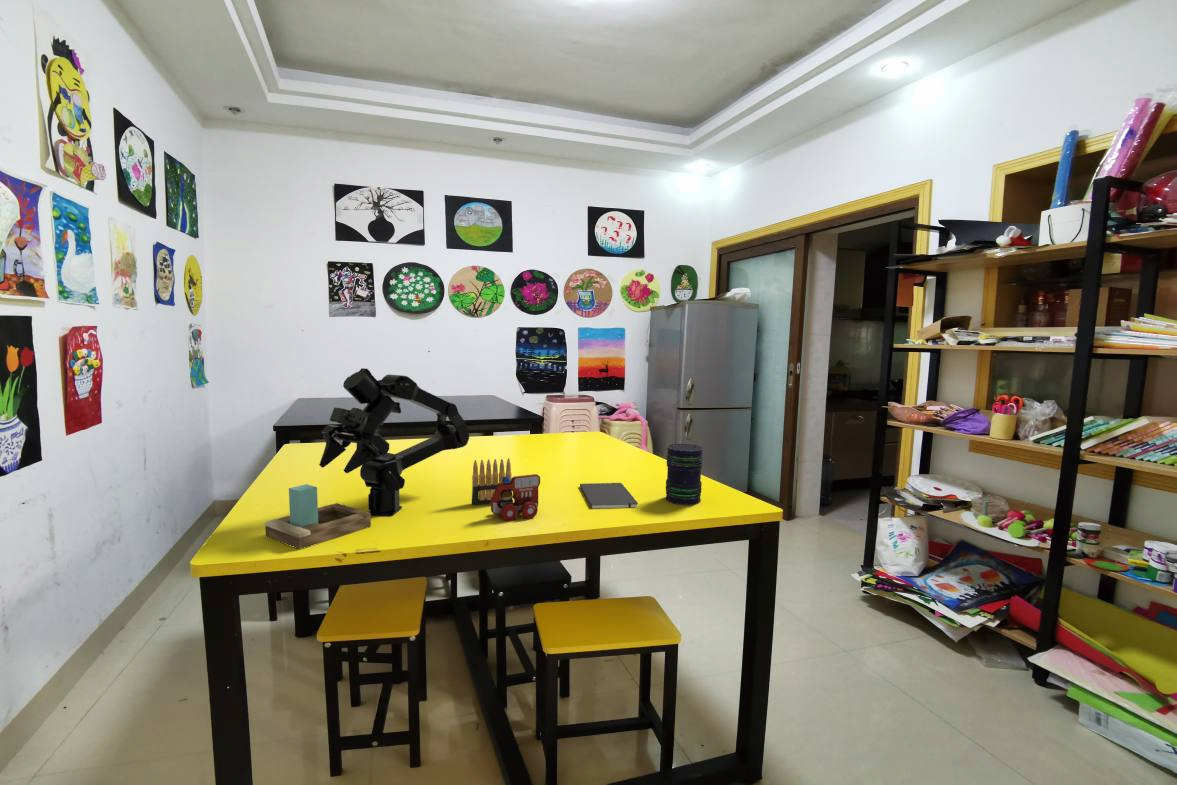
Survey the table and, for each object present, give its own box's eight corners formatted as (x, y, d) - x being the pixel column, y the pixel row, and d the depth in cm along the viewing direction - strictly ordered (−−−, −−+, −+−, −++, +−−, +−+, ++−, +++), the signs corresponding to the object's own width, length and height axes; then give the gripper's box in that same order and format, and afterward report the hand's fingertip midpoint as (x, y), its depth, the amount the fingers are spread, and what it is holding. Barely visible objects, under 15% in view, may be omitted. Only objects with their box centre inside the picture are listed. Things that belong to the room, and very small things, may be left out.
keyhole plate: (336, 516, 136) (336, 503, 135) (370, 526, 129) (370, 512, 128) (265, 536, 121) (265, 522, 121) (299, 549, 114) (299, 534, 114)
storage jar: (668, 505, 150) (670, 450, 148) (662, 494, 160) (664, 443, 158) (705, 505, 150) (707, 451, 149) (696, 495, 160) (698, 444, 158)
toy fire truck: (487, 514, 139) (487, 473, 138) (534, 509, 144) (535, 470, 143) (494, 523, 133) (494, 480, 132) (543, 517, 138) (544, 476, 137)
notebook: (579, 488, 166) (591, 510, 145) (579, 483, 166) (591, 504, 145) (621, 487, 168) (638, 509, 147) (621, 482, 168) (638, 503, 147)
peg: (310, 528, 127) (309, 481, 126) (328, 535, 123) (327, 486, 122) (279, 537, 121) (278, 488, 120) (298, 544, 117) (296, 493, 116)
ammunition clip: (472, 505, 146) (472, 460, 145) (471, 503, 148) (471, 459, 147) (512, 502, 150) (512, 458, 148) (511, 500, 151) (511, 457, 150)
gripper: (328, 391, 134) (284, 443, 126) (377, 397, 125) (333, 454, 116) (357, 420, 142) (317, 471, 134) (406, 427, 132) (367, 483, 124)
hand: (332, 469), depth 127 cm, fingers open, 9 cm apart
